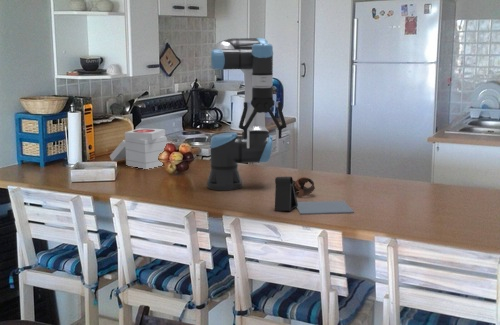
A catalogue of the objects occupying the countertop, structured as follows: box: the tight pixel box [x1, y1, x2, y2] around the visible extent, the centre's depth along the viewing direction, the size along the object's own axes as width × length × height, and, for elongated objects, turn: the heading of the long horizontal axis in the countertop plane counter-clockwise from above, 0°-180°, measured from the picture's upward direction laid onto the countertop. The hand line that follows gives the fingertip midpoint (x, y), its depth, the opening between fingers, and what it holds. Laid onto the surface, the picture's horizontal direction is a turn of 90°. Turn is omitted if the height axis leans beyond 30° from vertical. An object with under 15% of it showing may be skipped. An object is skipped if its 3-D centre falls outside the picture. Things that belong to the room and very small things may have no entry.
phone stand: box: [274, 176, 298, 212], centre depth 235 cm, size 9×6×12 cm, turn 155°
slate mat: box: [295, 200, 355, 215], centre depth 237 cm, size 20×16×1 cm
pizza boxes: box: [109, 127, 168, 170], centre depth 321 cm, size 19×30×18 cm, turn 51°
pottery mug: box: [293, 176, 316, 198], centre depth 257 cm, size 12×10×8 cm
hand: (262, 147), depth 231 cm, fingers open, 10 cm apart
